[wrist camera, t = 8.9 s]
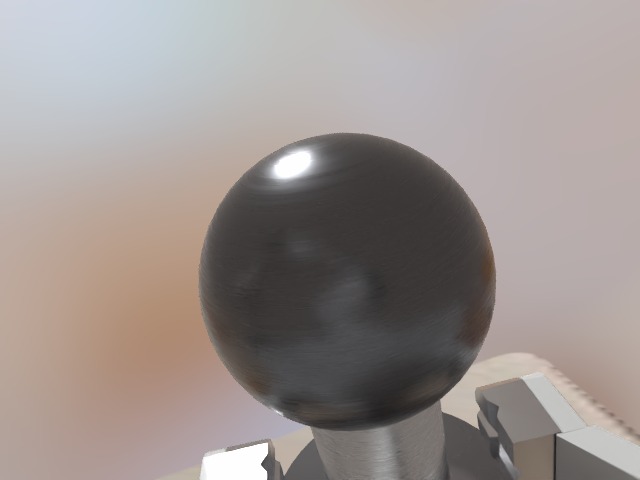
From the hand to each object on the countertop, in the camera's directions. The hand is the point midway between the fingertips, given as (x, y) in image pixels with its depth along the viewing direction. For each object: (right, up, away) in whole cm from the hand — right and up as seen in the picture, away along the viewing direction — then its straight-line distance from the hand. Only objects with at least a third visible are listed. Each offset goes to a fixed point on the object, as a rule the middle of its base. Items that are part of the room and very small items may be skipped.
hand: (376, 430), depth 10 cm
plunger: (+4, -17, +7) cm, 19 cm away
